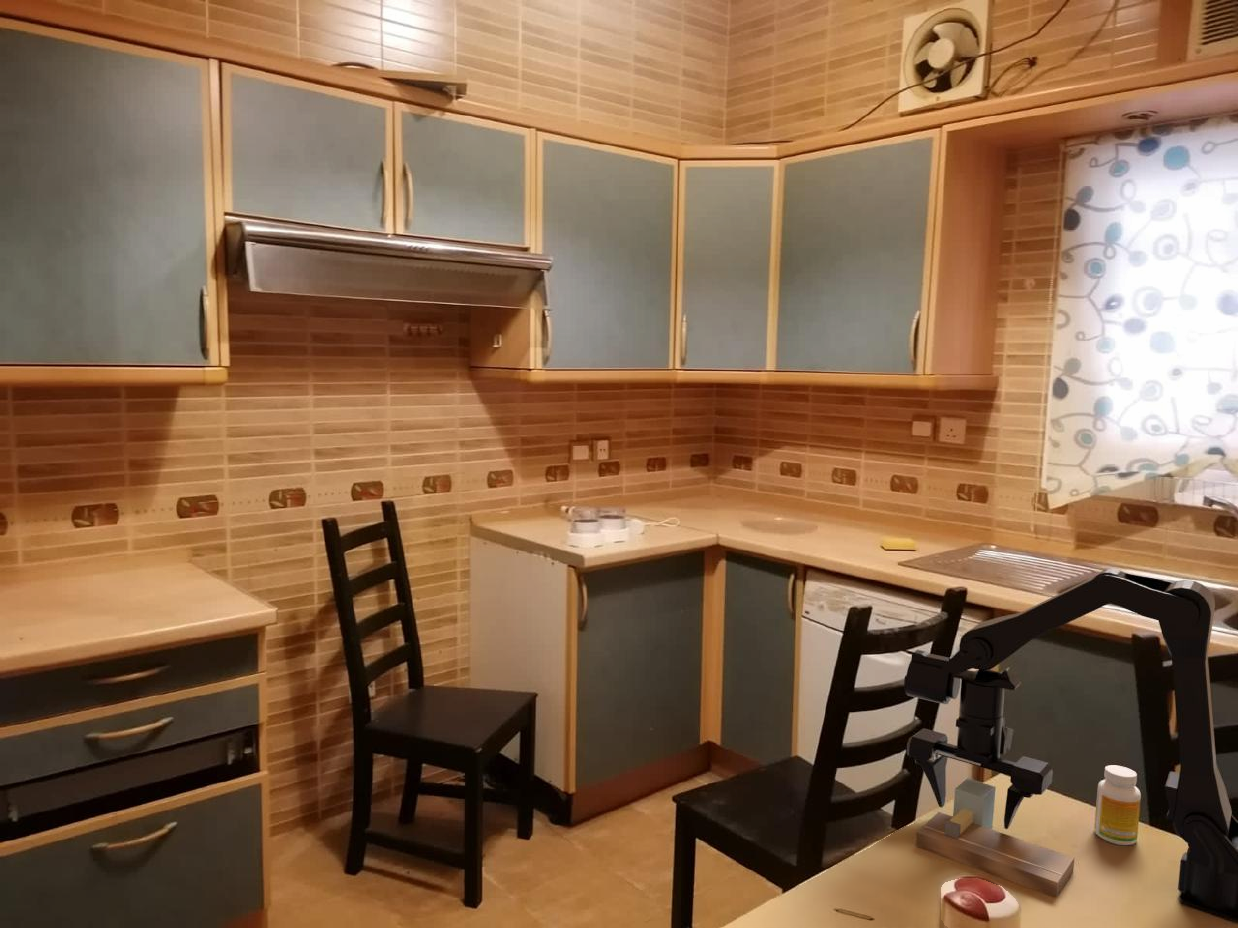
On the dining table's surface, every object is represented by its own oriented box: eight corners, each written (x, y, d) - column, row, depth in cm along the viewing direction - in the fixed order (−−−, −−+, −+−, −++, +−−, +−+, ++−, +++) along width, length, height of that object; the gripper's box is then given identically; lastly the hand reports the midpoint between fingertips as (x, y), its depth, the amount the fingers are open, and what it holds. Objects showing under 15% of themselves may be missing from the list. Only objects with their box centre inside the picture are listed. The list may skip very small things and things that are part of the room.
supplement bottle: (1145, 846, 125) (1151, 779, 124) (1106, 845, 125) (1111, 778, 124) (1124, 827, 131) (1129, 763, 130) (1086, 826, 131) (1092, 761, 130)
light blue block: (992, 826, 130) (995, 786, 129) (964, 855, 121) (968, 812, 121) (964, 817, 132) (967, 777, 132) (935, 844, 124) (938, 802, 123)
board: (1073, 871, 118) (1074, 856, 118) (1056, 897, 112) (1057, 881, 112) (937, 824, 130) (938, 811, 130) (915, 845, 124) (916, 831, 123)
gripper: (1067, 713, 128) (1058, 818, 129) (937, 682, 140) (931, 778, 141) (1044, 736, 119) (1036, 848, 121) (908, 700, 131) (902, 802, 133)
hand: (973, 816), depth 129 cm, fingers open, 9 cm apart
